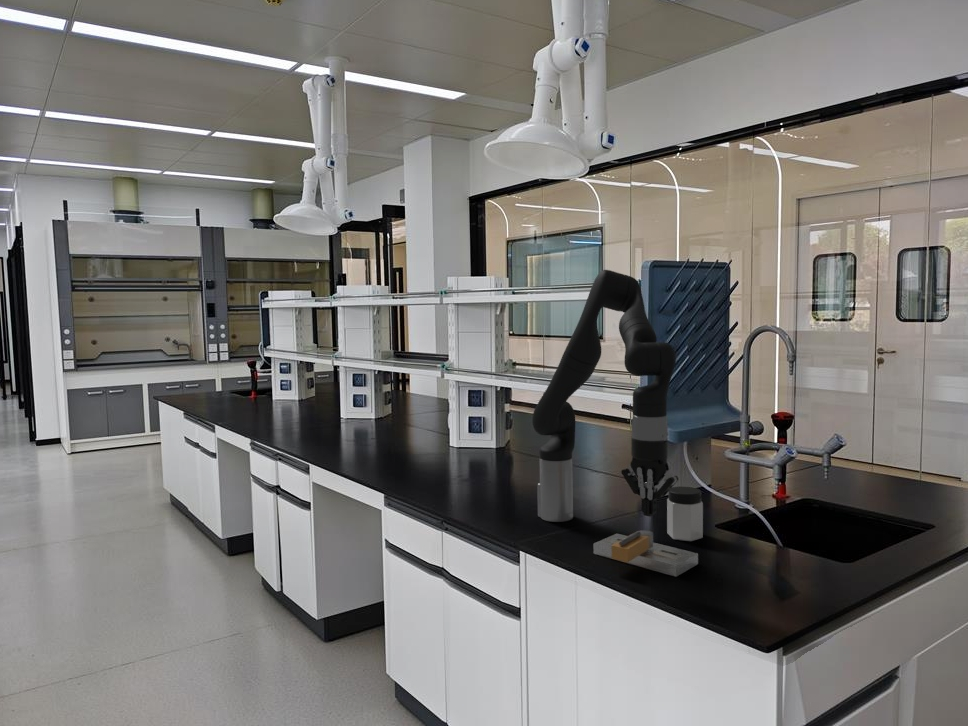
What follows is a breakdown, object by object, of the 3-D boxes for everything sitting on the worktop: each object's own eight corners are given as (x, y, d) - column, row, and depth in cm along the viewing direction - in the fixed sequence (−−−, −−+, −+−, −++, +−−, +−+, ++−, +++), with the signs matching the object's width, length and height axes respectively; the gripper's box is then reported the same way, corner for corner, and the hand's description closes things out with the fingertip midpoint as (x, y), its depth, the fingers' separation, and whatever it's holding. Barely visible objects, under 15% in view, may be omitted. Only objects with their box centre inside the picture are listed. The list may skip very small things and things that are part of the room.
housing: (593, 553, 166) (593, 542, 166) (616, 543, 173) (616, 532, 173) (675, 576, 150) (675, 564, 150) (698, 564, 158) (697, 552, 157)
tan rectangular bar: (640, 541, 164) (640, 524, 164) (655, 544, 162) (655, 527, 161) (611, 558, 154) (611, 540, 153) (627, 562, 151) (627, 543, 151)
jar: (707, 541, 173) (707, 494, 172) (675, 542, 173) (675, 495, 172) (694, 529, 182) (694, 485, 181) (663, 531, 182) (663, 486, 181)
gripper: (613, 434, 148) (613, 513, 149) (669, 442, 139) (668, 526, 140) (631, 429, 154) (631, 505, 155) (686, 436, 145) (685, 517, 146)
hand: (649, 515), depth 148 cm, fingers closed
